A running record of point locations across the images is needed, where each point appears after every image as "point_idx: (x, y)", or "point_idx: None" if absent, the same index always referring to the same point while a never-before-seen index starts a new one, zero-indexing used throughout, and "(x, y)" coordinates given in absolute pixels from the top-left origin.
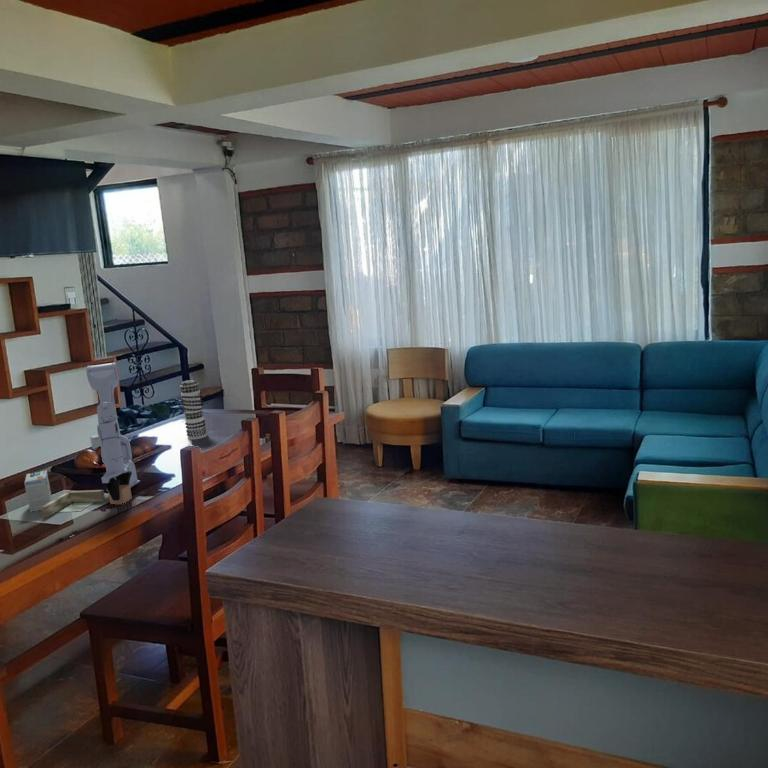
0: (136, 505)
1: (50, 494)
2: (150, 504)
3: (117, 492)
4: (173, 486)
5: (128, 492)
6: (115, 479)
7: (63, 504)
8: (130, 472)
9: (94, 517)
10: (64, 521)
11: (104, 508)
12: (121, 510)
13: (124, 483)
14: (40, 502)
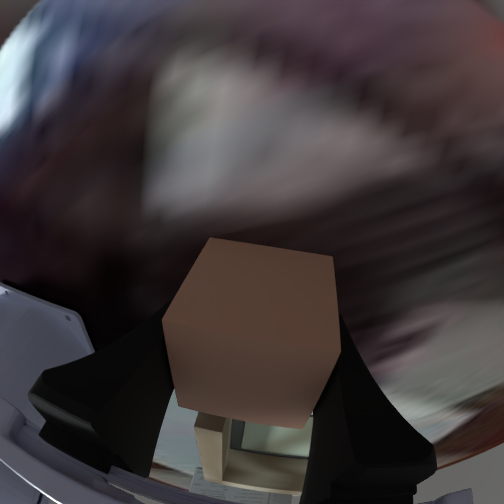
0: (408, 135)
1: (214, 489)
2: (411, 11)
3: (364, 364)
4: (17, 42)
5: (229, 283)
6: (333, 494)
7: (275, 465)
8: (51, 404)
9: (491, 342)
10: (451, 418)
11: (371, 351)
12: (473, 231)
13: (158, 368)
14: (281, 496)
